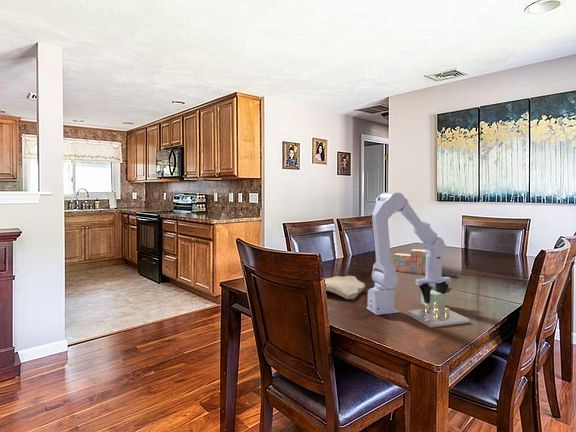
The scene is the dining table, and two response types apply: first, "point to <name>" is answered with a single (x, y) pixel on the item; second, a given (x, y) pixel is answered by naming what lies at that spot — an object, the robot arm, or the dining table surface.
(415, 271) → the stack of blocks
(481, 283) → the dining table surface
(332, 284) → the cream rock
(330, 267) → the dining table surface
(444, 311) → the base plate
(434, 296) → the block
